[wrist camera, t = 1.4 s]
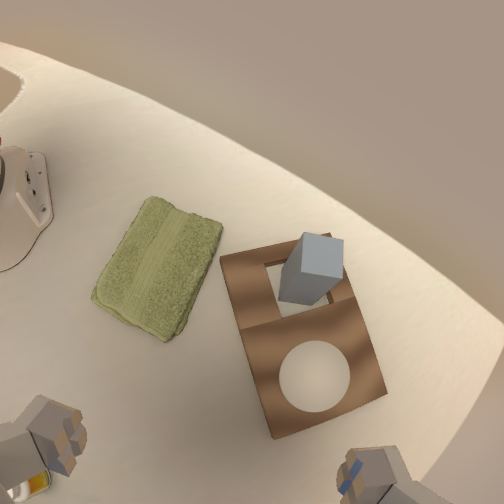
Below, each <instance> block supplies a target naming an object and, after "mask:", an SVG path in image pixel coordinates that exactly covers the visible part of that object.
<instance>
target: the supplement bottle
mask: <svg viewBox="0 0 504 504" xmlns="http://www.w3.org/2000/svg"><path fill="white" fill-rule="evenodd" d="M50 483H51V479H50V474H49V471H48V469H47V468H46V470H45V471H43V472H41V473H39V474H38V475H36V476H34V477H32V478H30V479H28V480H27V481H25V482H23V483H21V484H19V485H17V486H15V487H14V488H12V489H10V490H8V491H7V492H8V494H9V495H10V496H11V498H12V499H13V500H14V501H17V502H23V501H25V500H27V499H29V498H31V497H33V496H35V495H37V494H39V493H41V492H43V491H45V490H47V489H48V488H49V486H50Z"/></svg>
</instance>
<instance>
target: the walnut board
mask: <svg viewBox="0 0 504 504" xmlns="http://www.w3.org/2000/svg"><path fill="white" fill-rule="evenodd" d="M321 235H322V236H327V237H332V236H331V233H326V234H321ZM298 241H299V239H298V240H294V241H289V242H284V243H280V244H275V245H271V246H266V247H262V248H257V249H252V250H248V251H243V252H239V253H234V254H230V255H225V256H220V264H221V268H222V272H223V275H224V279H225V283H226V286H227V290H228V293H229V297H230V300H231V304H232V307H233V311H234V314H235V318H236V321H237V325H238V328H239V332H240V335H241V339H242V342H243V345H244V349H245V352H246V355H247V359H248V362H249V365H250V369H251V372H252V375H253V379H254V382H255V385H256V388H257V392H258V395H259V398H260V401H261V404H262V408H263V411H264V414H265V417H266V420H267V423H268V426H269V430H270V433H271V436H272V438H273V439H274V440H276V439H279V438H282V437H285V436H288V435H291V434H293V433H296V432H299V431H302V430H305V429H307V428H310V427H313V426H315V425H318V424H320V423H323V422H325V421H328V420H330V419H333V418H335V417H338V416H340V415H342V414H345V413H347V412H349V411H352V410H354V409H356V408H358V407H361V406H363V405H365V404H367V403H369V402H371V401H373V400H376V399H378V398H380V397H382V396H384V395H386V394H388V393H387V390H386V386H385V383H384V380H383V377H382V373H381V370H380V367H379V364H378V361H377V358H376V355H375V352H374V349H373V346H372V343H371V340H370V337H369V334H368V331H367V328H366V325H365V322H364V319H363V317H362V314H361V311H360V308H359V306H358V303H357V300H356V297H355V295H354V292H353V289H352V287H351V284H350V281H349V279H348V276H347V273H346V271H345V268H344V266H343V279H342V280H341V281H340V282H338V283H337V284H336V285H335V286H334V287H333V288H331V289H330V290H329V291H328V292H327V293H326V295H327V298H328V301H329V305H325V306H322V307H319V308H316V309H312V310H309V311H306V312H302V313H299V314H295V315H292V316H288V317H285V318H281V315H280V312H279V309H278V306H277V303H276V300H275V296H274V293H273V290H272V287H271V284H270V281H269V278H268V275H267V272H266V269H265V267H268V266H272V265H277V264H281V263H285V262H286V261H287V260H288V258H289V256H290V255H291V253H292V251H293V250H294V248H295V246H296V245H297V243H298ZM308 341H324V342H327V343H329V344H332V345H333V346H335V347H336V348H337V349H339V350H340V351H341V352H342V354H343V355H344V356H345V358H346V360H347V363H348V365H349V370H350V381H349V386H348V389H347V391H346V393H345V395H344V396H343V398H342V399H341V400H340V401H339V402H338V403H337V404H336V405H335V406H333V407H332V408H330V409H328V410H325V411H322V412H306V411H302V410H300V409H297V408H296V407H294V406H293V405H291V404H290V403H289V402H288V401H287V400H286V398H285V397H284V395H283V394H282V391H281V389H280V385H279V370H280V367H281V364H282V362H283V360H284V358H285V356H286V355H287V354H288V353H289V352H290V351H291V350H292V349H293V348H295V347H296V346H298V345H300V344H302V343H304V342H308Z"/></svg>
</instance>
